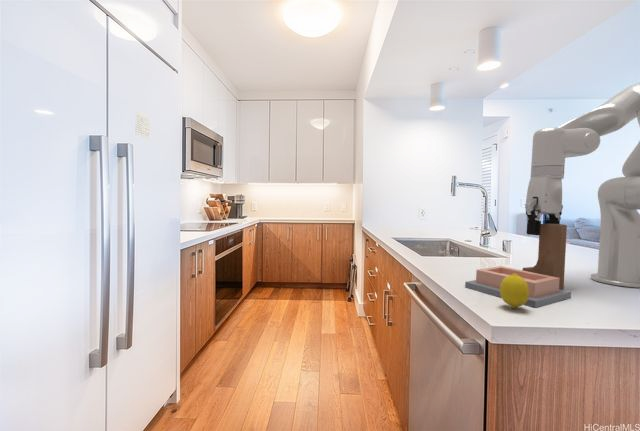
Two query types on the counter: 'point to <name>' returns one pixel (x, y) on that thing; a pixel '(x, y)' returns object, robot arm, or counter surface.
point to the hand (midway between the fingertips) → (542, 234)
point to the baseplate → (530, 300)
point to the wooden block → (551, 252)
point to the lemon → (514, 290)
